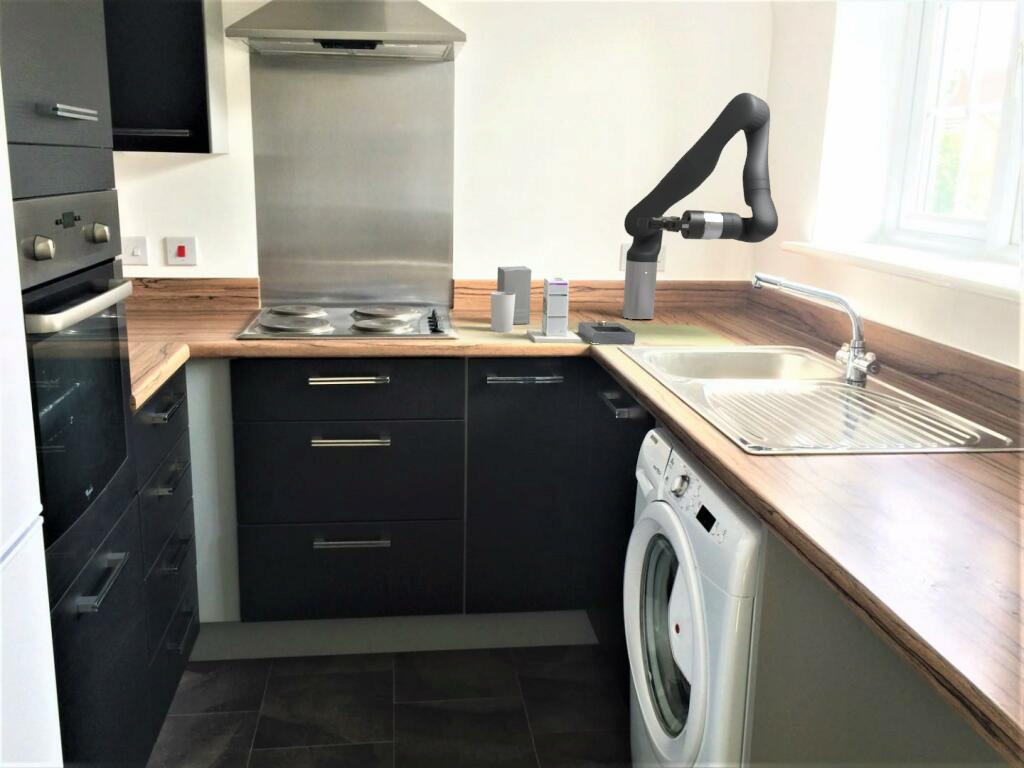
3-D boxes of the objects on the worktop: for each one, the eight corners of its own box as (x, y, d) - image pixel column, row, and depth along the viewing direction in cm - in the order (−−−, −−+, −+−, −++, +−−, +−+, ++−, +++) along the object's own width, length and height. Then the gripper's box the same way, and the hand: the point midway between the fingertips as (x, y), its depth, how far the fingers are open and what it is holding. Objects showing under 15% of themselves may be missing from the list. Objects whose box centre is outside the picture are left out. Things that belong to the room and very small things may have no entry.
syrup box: (567, 336, 241) (570, 280, 238) (545, 336, 240) (547, 279, 237) (562, 332, 247) (565, 277, 243) (540, 332, 246) (543, 277, 242)
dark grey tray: (578, 333, 253) (579, 318, 252) (617, 333, 254) (618, 318, 254) (592, 344, 237) (593, 328, 236) (634, 344, 239) (635, 329, 238)
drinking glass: (499, 327, 257) (500, 291, 254) (519, 330, 253) (520, 293, 251) (484, 330, 251) (485, 293, 249) (504, 333, 248) (506, 295, 245)
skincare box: (522, 320, 269) (524, 265, 265) (530, 324, 262) (533, 268, 259) (494, 321, 266) (496, 265, 263) (502, 325, 260) (504, 268, 256)
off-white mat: (526, 333, 248) (526, 330, 248) (570, 334, 250) (571, 330, 250) (535, 342, 237) (535, 338, 237) (581, 342, 239) (581, 339, 239)
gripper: (693, 209, 253) (635, 207, 250) (712, 212, 239) (651, 210, 237) (691, 237, 255) (633, 235, 252) (710, 241, 241) (649, 240, 238)
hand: (642, 223), depth 244 cm, fingers open, 8 cm apart
